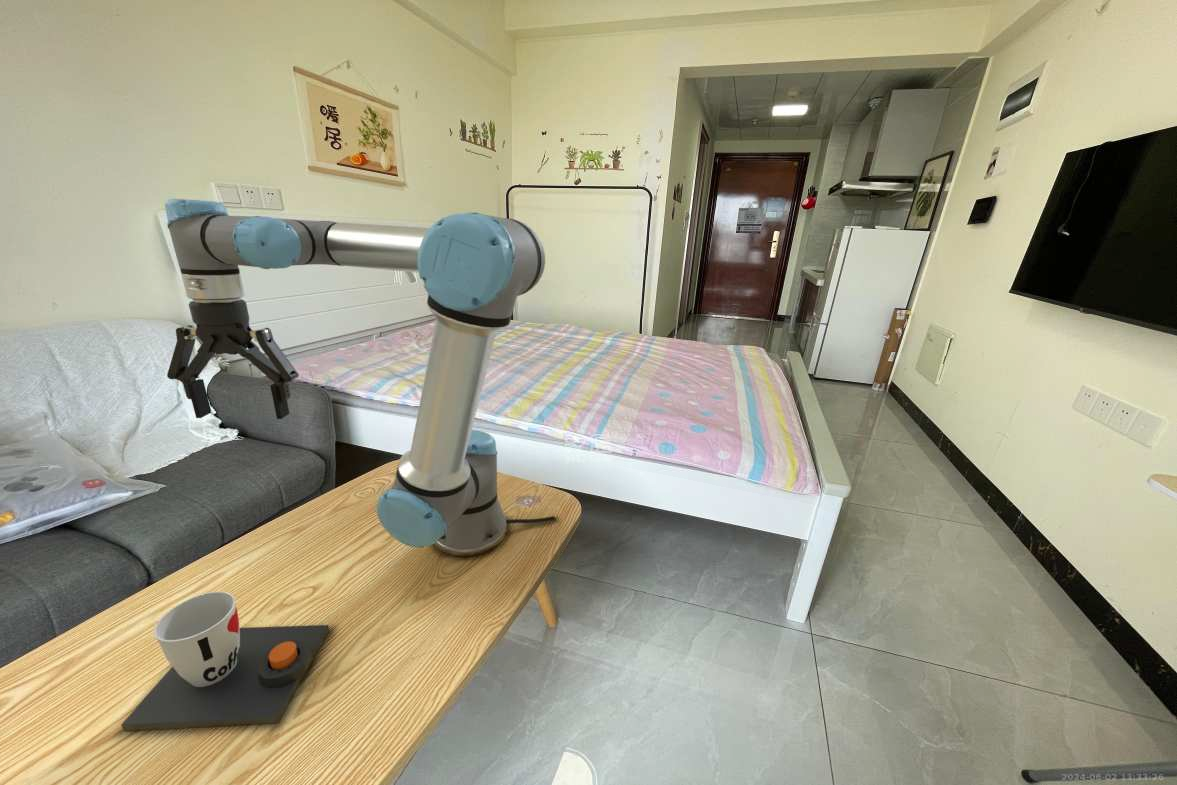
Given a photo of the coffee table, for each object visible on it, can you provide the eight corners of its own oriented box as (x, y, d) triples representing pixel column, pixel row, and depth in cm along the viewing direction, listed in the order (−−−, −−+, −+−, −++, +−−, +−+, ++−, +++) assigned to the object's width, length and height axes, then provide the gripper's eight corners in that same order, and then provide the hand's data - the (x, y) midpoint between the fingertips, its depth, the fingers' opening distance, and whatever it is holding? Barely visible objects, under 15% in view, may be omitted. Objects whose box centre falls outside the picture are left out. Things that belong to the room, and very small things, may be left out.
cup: (208, 705, 56) (189, 647, 53) (158, 690, 58) (136, 633, 54) (264, 650, 64) (250, 597, 60) (218, 639, 65) (202, 586, 62)
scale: (333, 630, 69) (330, 616, 68) (282, 723, 56) (277, 706, 55) (207, 634, 67) (202, 619, 66) (123, 731, 54) (116, 714, 53)
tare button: (302, 648, 63) (300, 640, 62) (290, 669, 60) (288, 661, 59) (279, 649, 62) (277, 641, 62) (265, 670, 59) (263, 662, 59)
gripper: (114, 299, 68) (152, 423, 75) (283, 305, 71) (305, 424, 78) (154, 293, 75) (186, 407, 82) (307, 299, 78) (325, 409, 85)
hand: (244, 415), depth 80 cm, fingers open, 13 cm apart
